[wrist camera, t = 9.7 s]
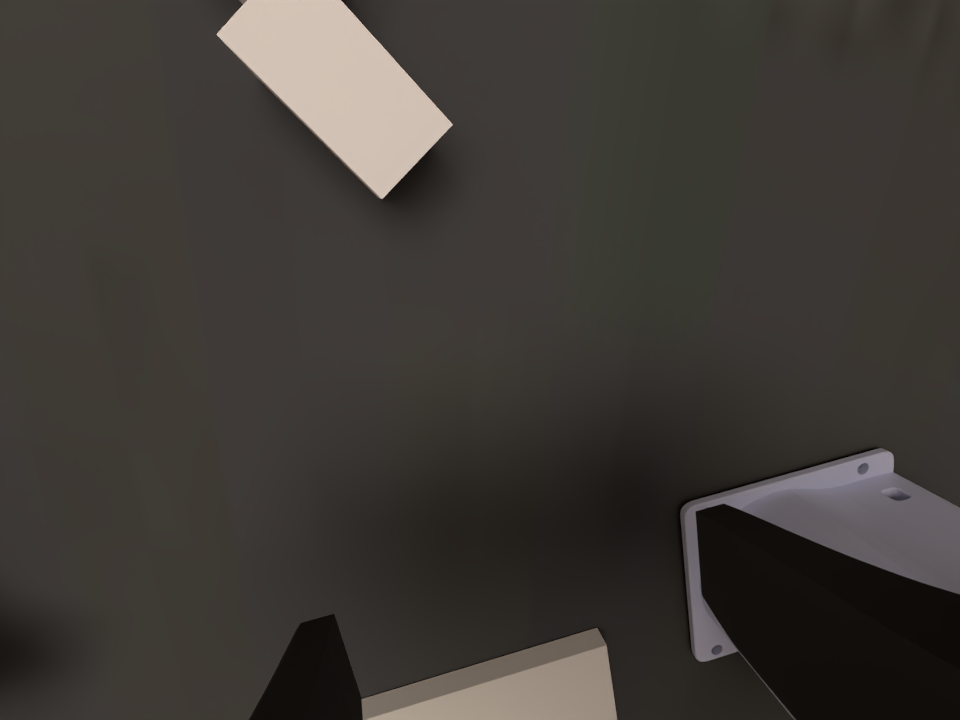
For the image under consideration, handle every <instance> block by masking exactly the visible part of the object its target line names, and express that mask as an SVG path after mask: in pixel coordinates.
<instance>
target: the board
mask: <svg viewBox="0 0 960 720" xmlns="http://www.w3.org/2000/svg"><path fill="white" fill-rule="evenodd" d="M361 700H362V715H363V720H617V715H616V708H615V701H614V694H613V687H612V680H611V673H610V666H609V659H608V652H607V645H606V643H605V641H604V639H603V638H602V636H601V634H600V632H599V630H598V628H594V629H591V630H587V631H584V632H581V633H578V634H574V635H571V636H568V637H564V638H561V639H558V640H555V641H551V642H548V643H545V644H541V645H538V646H535V647H532V648H528V649H525V650H522V651H518V652H515V653H512V654H508V655H505V656H502V657H499V658H495V659H492V660H489V661H485V662H482V663H479V664H476V665H472V666H469V667H466V668H462V669H459V670H456V671H453V672H449V673H446V674H443V675H439V676H436V677H433V678H429V679H426V680H423V681H420V682H416V683H413V684H410V685H406V686H403V687H400V688H397V689H393V690H390V691H387V692H383V693H380V694H377V695H374V696H370V697H367V698H364V699H361Z"/></svg>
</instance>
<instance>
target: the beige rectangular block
mask: <svg viewBox="0 0 960 720" xmlns="http://www.w3.org/2000/svg"><path fill="white" fill-rule="evenodd" d="M239 1H240V2H241V3H242V4H243V5H242V6H241V8H240V9H239V10H238V11H237V12H236V13H235V14H234V15H233V17H232V18H231V19H230V20H229V21H228V22H227V23H226V24H225V25H224V27H223V28H222V29H221V30H220V31H219V32H218V33H217V34H216V35H217V36H218V37H219V38H220V39H221V40H222V41H223V42H224V43H225V44H226V45H227V46H228V47H229V48H230V49H231V50H232V52H233V53H234V54H235V55H236V56H237V57H238V58H239V59H240V60H241V61H242V62H243V63H244V64H245V65H246V66H247V67H248V68H249V69H250V70H251V72H252V73H253V74H254V75H255V76H256V77H257V78H258V79H259V80H260V81H261V82H262V83H263V84H264V85H265V86H266V87H267V88H268V89H269V90H270V91H271V92H272V93H273V94H274V95H275V96H276V97H277V98H278V99H279V100H280V101H281V102H282V103H283V104H284V105H285V106H286V107H287V108H288V109H289V110H290V111H291V112H292V113H293V114H294V115H295V116H296V117H297V118H298V119H299V120H300V121H301V122H302V123H303V124H304V125H305V126H306V127H307V128H308V129H309V130H310V131H311V132H312V133H313V134H314V135H315V136H316V137H317V138H318V139H319V140H320V141H322V142H323V143H324V144H325V145H326V146H327V147H328V148H329V149H330V150H331V151H332V152H333V153H334V154H335V155H336V156H337V157H338V158H339V159H340V160H341V161H342V162H343V163H344V164H345V165H346V166H347V167H348V168H349V169H350V170H351V171H352V172H353V173H354V174H355V175H356V176H357V177H358V178H359V179H360V180H361V181H362V182H363V183H364V184H365V185H366V186H367V187H368V188H369V189H370V190H371V191H372V192H373V193H374V194H375V195H376V196H377V197H378V198H380V199H383V198H384V197H385V196H386V195H387V194H388V193H389V191H390V190H391V189H392V188H393V187H394V186H395V185H396V184H397V183H398V182H399V181H400V180H401V179H402V178H403V177H404V176H405V175H406V174H407V172H408V171H409V170H410V169H411V168H412V167H413V166H414V165H415V164H416V163H417V162H418V161H419V160H420V159H421V158H422V157H423V156H424V155H425V154H426V152H427V151H428V150H429V149H430V148H431V147H432V146H433V145H434V144H435V143H436V142H437V141H438V140H439V139H440V138H441V137H442V136H443V135H444V133H445V132H446V131H447V130H448V129H449V128H450V127H451V126H452V125H453V124H452V123H451V122H450V121H449V120H448V119H447V118H446V117H445V116H444V114H443V113H442V112H441V111H440V110H439V109H438V108H437V107H436V106H435V104H434V103H433V102H432V101H431V100H430V99H429V98H428V97H427V96H426V94H425V93H424V92H423V91H422V90H421V89H420V88H419V87H418V85H417V84H416V83H415V82H414V81H413V80H412V79H411V78H410V77H409V75H408V74H407V73H406V72H405V71H404V70H403V69H402V68H401V67H400V65H399V64H398V63H397V62H396V61H395V60H394V59H393V58H392V57H391V55H390V54H389V53H388V52H387V51H386V50H385V49H384V48H383V46H382V45H381V44H380V43H379V42H378V41H377V40H376V39H375V38H374V36H373V35H372V34H371V33H370V32H369V31H368V30H367V29H366V28H365V26H364V25H363V24H362V23H361V22H360V21H359V20H358V19H357V18H356V16H355V15H354V14H353V13H352V12H351V11H350V10H349V9H348V7H347V6H346V5H345V4H344V3H343V2H342V1H341V0H239Z"/></svg>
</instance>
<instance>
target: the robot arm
mask: <svg viewBox="0 0 960 720" xmlns="http://www.w3.org/2000/svg"><path fill="white" fill-rule="evenodd" d="M859 466H860V467H859ZM858 467H859V468H858ZM893 468H894V457H893V454H892V453H891V452H889V451H887V450H885V449H882V448H880V449H875V450H871V451H868V452H864V453H861V454H857V455H853V456H850V457H846V458H843V459H839V460H836V461H832V462H828V463H825V464H821V465H818V466H814V467H811V468H807V469H804V470H800V471H796V472H793V473H789V474H786V475H782V476H779V477H775V478H771V479H768V480H764V481H761V482H757V483H754V484H750V485H746V486H743V487H739V488H736V489H732V490H729V491H725V492H722V493H718V494H714V495H711V496H707V497H704V498H700V499H697V500H693V501H690V502H688V503H686V504H685V505H684V506H683V507H682V509H681V513H680V518H681V530H682V542H683V554H684V566H685V578H686V590H687V602H688V614H689V625H690V637H691V649H692V653H693V655H694V656H695V658H696V659H697V660H698V661H701V662H706V661H710V660H713V659H716V658H719V657H722V656H725V655H728V654H731V653H735V652H739V653H740V654H741V655H742V656H743V658H744V659H745V660H746V661H747V663H748V664H749V665H750V666H751V668H752V669H753V670H754V671H755V673H756V674H757V675H758V676H759V677H760V679H761V680H762V681H763V682H764V684H765V685H766V686H767V687H768V689H769V690H770V691H771V692H772V694H773V695H774V696H775V697H776V698H777V700H778V701H779V702H780V703H781V705H782V706H783V707H784V708H785V710H786V711H787V712H788V713H789V714H790V716H791V717H792V718H793V719H794V720H960V508H959V507H957V506H955V505H954V504H952V503H950V502H948V501H946V500H944V499H942V498H940V497H939V496H937V495H935V494H933V493H931V492H929V491H927V490H926V489H924V488H922V487H920V486H918V485H916V484H914V483H912V482H911V481H909V480H907V479H905V478H903V477H901V476H899V475H897V474H896V473H894V472H893ZM707 507H708V508H707ZM705 508H706V509H705ZM714 646H715V647H714ZM249 720H363V715H362V700H361V696H360V692H359V689H358V686H357V683H356V680H355V677H354V674H353V671H352V668H351V665H350V661H349V658H348V655H347V652H346V649H345V646H344V643H343V640H342V637H341V634H340V631H339V627H338V624H337V621H336V618H335V615H334V614H332V615H328V616H325V617H321V618H318V619H314V620H311V621H307V622H303V623H301V624H300V625H299V627H298V628H297V630H296V632H295V634H294V636H293V638H292V639H291V641H290V643H289V645H288V647H287V649H286V651H285V653H284V655H283V657H282V659H281V661H280V663H279V665H278V667H277V669H276V671H275V673H274V675H273V677H272V679H271V680H270V682H269V684H268V686H267V688H266V690H265V692H264V694H263V696H262V697H261V699H260V701H259V703H258V705H257V706H256V708H255V710H254V712H253V714H252V715H251V717H250V719H249Z"/></svg>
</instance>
